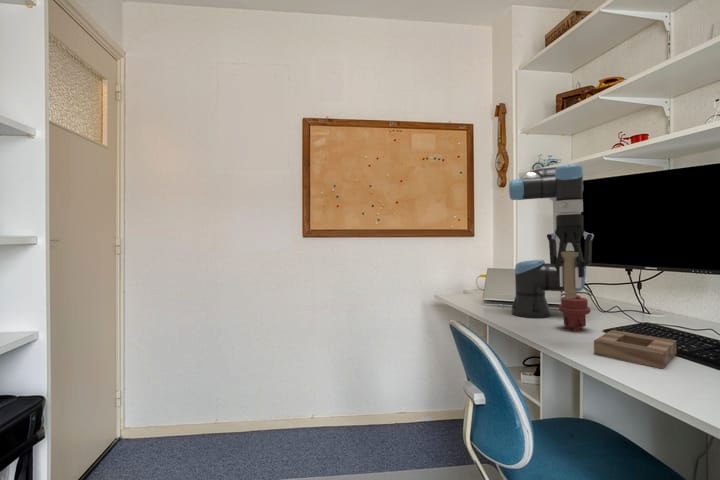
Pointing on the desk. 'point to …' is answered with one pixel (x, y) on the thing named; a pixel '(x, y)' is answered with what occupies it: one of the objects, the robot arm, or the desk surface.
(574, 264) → the handle
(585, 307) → the mechanical component
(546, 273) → the robot arm
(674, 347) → the socket block
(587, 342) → the desk surface
